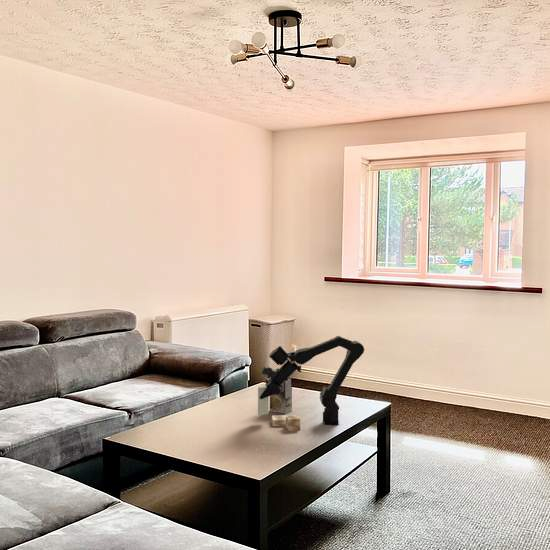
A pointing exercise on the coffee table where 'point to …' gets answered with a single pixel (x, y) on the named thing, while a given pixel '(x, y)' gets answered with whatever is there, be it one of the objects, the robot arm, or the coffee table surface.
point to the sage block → (262, 401)
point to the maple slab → (279, 420)
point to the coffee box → (282, 398)
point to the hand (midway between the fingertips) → (260, 397)
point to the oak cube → (293, 422)
